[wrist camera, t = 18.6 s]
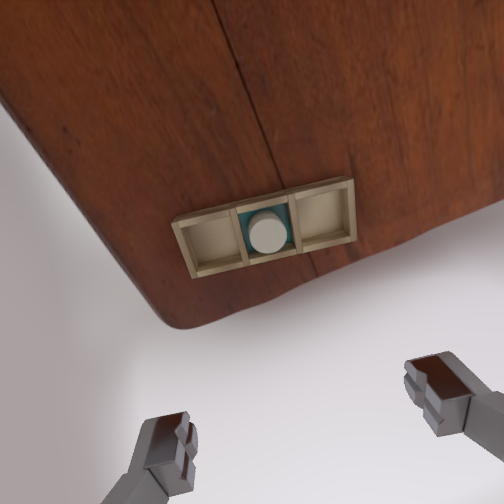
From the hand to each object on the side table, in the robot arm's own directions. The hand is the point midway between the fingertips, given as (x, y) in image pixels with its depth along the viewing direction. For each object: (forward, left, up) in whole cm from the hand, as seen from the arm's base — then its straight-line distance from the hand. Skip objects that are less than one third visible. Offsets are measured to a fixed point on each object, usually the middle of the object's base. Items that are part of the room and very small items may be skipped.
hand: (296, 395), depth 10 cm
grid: (+1, 0, -20) cm, 20 cm away
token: (+1, 0, -20) cm, 20 cm away
